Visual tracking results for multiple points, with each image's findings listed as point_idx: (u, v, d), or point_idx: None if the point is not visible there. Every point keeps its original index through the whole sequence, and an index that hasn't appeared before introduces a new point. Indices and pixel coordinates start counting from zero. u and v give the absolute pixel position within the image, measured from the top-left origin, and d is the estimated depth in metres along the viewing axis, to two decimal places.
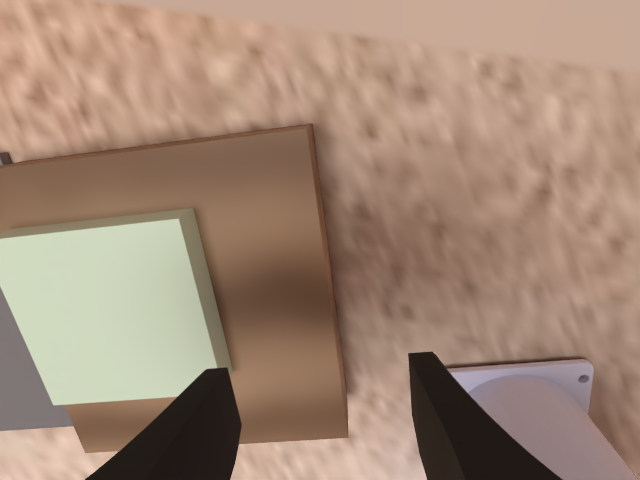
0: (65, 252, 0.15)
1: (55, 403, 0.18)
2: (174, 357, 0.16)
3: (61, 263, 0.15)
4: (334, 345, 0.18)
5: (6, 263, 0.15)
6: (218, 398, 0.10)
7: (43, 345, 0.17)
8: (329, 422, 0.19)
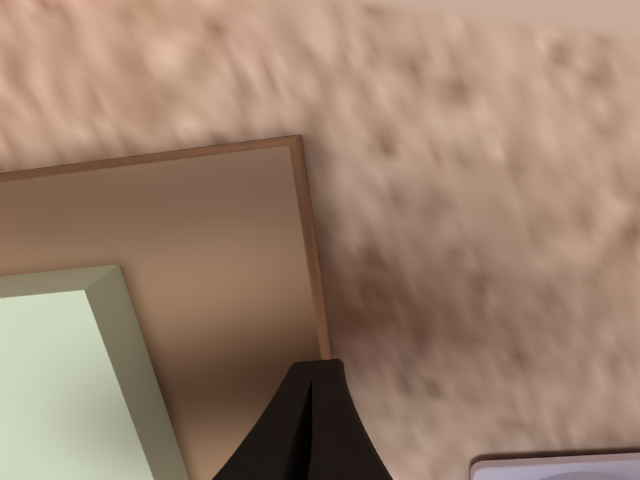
0: None
1: None
2: None
3: None
4: None
5: None
6: None
7: None
8: None
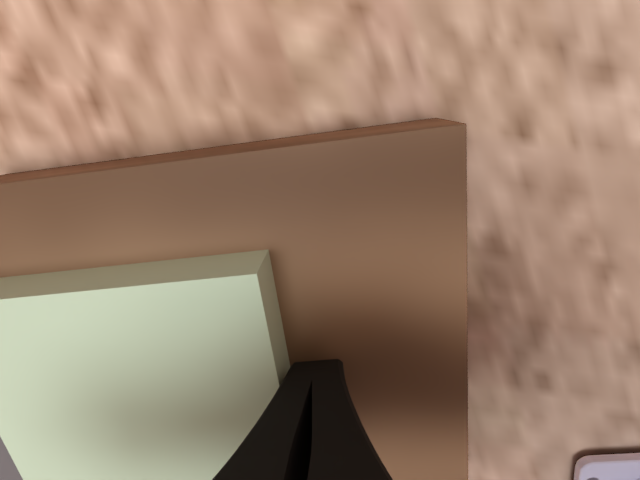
0: (70, 323, 0.09)
1: None
2: None
3: (63, 340, 0.10)
4: (465, 445, 0.12)
5: None
6: None
7: (36, 456, 0.11)
8: None
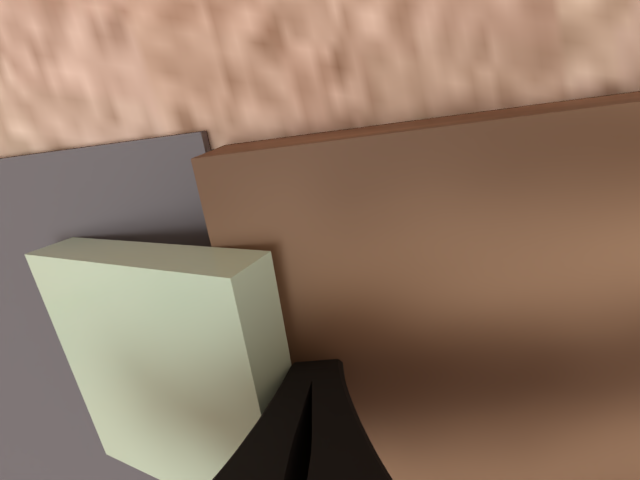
0: (99, 289, 0.10)
1: (107, 453, 0.14)
2: None
3: (96, 302, 0.11)
4: None
5: (48, 287, 0.12)
6: None
7: (91, 389, 0.13)
8: None
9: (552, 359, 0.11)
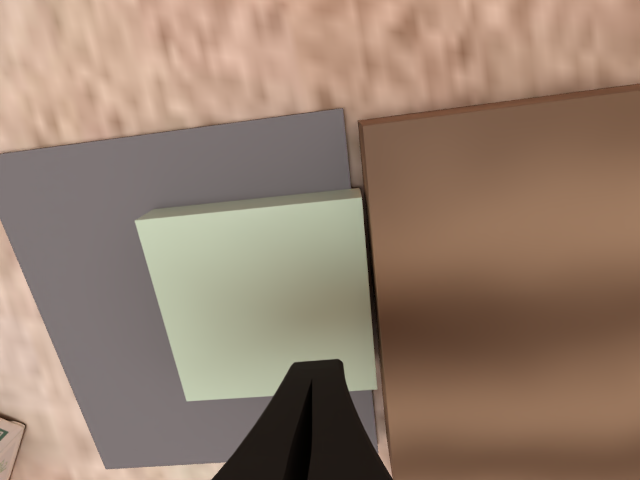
0: (228, 233, 0.14)
1: (189, 399, 0.16)
2: (329, 350, 0.15)
3: (221, 246, 0.14)
4: None
5: (159, 246, 0.14)
6: None
7: (186, 336, 0.15)
8: None
9: None
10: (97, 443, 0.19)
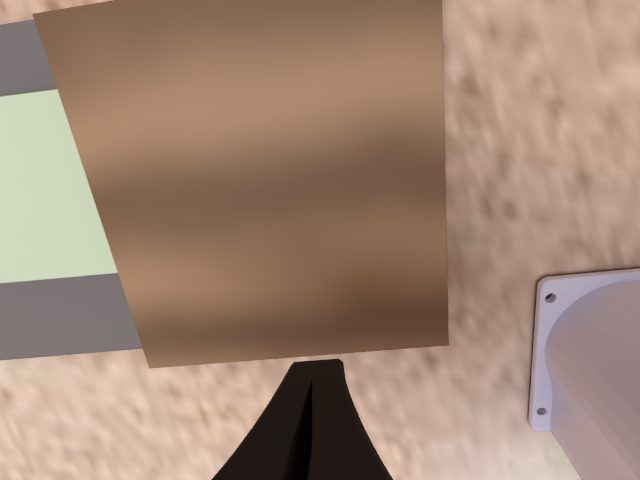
0: None
1: None
2: (77, 234, 0.17)
3: None
4: (444, 229, 0.15)
5: None
6: None
7: None
8: (429, 326, 0.17)
9: (306, 172, 0.15)
10: None
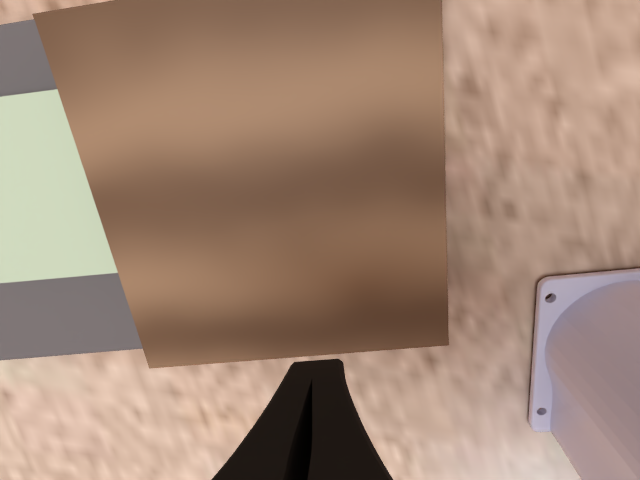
0: None
1: None
2: (77, 234, 0.17)
3: None
4: (444, 229, 0.15)
5: None
6: None
7: None
8: (429, 326, 0.17)
9: (306, 172, 0.15)
10: None
